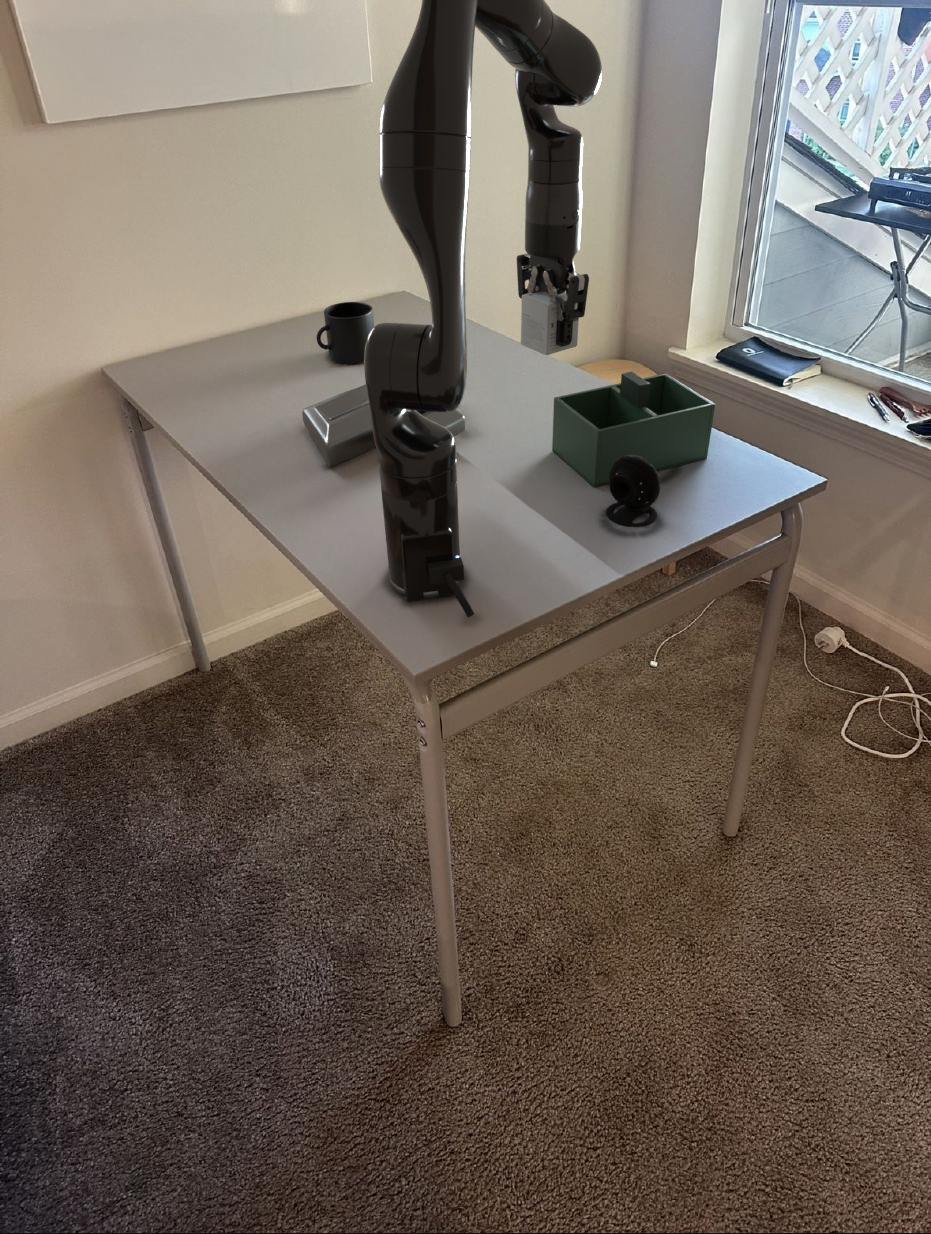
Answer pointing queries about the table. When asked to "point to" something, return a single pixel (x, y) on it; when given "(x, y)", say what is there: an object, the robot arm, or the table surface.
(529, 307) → the product carton
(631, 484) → the webcam
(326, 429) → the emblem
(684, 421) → the bin
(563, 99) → the robot arm
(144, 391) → the table surface
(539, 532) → the table surface
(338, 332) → the mug
